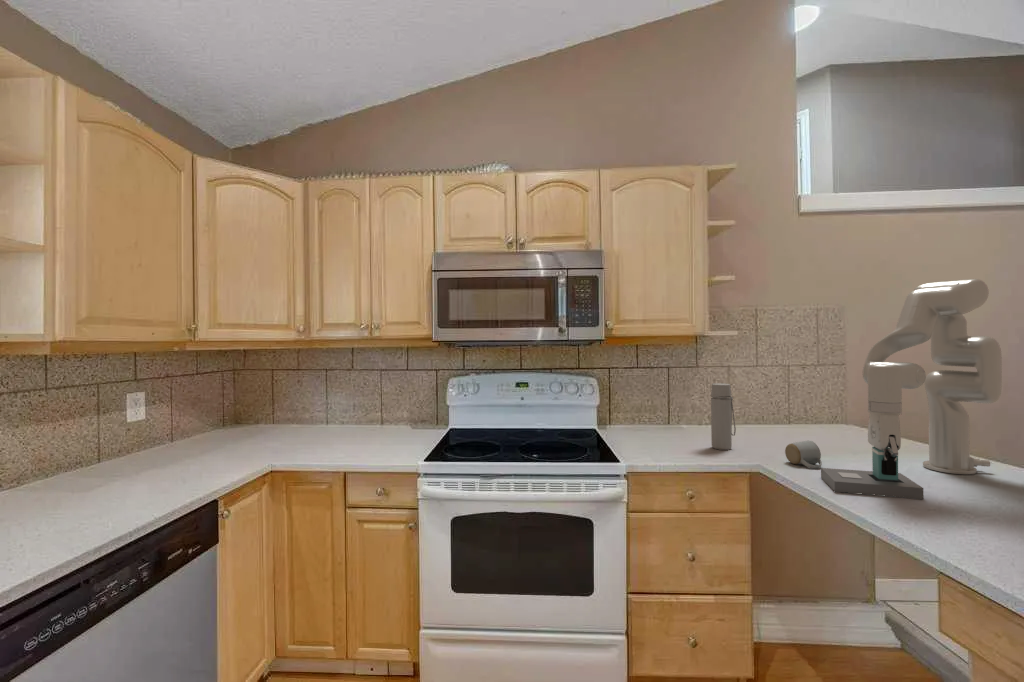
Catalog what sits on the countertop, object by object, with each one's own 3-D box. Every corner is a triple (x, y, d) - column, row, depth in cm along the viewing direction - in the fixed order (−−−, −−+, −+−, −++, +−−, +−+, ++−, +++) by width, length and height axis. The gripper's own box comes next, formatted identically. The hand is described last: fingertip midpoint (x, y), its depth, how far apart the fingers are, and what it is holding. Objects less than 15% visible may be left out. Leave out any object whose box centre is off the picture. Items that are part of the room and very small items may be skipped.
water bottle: (717, 451, 179) (716, 385, 179) (707, 446, 187) (706, 383, 186) (740, 450, 179) (739, 384, 179) (730, 445, 187) (729, 382, 187)
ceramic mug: (783, 461, 163) (783, 439, 163) (804, 460, 164) (804, 438, 164) (807, 470, 152) (807, 447, 152) (829, 469, 154) (829, 445, 153)
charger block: (891, 475, 134) (891, 447, 134) (898, 480, 130) (898, 451, 130) (872, 474, 136) (872, 446, 136) (878, 478, 131) (878, 450, 131)
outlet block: (900, 483, 137) (900, 472, 137) (923, 499, 124) (923, 487, 124) (821, 477, 144) (820, 467, 144) (834, 492, 131) (834, 480, 131)
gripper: (858, 403, 142) (859, 463, 142) (880, 412, 126) (880, 479, 126) (888, 403, 139) (889, 465, 139) (914, 413, 123) (915, 482, 124)
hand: (885, 471), depth 133 cm, fingers closed on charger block, 4 cm apart
